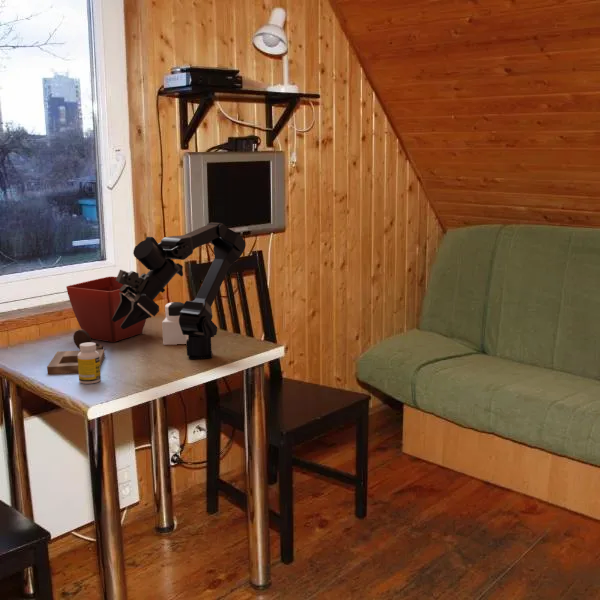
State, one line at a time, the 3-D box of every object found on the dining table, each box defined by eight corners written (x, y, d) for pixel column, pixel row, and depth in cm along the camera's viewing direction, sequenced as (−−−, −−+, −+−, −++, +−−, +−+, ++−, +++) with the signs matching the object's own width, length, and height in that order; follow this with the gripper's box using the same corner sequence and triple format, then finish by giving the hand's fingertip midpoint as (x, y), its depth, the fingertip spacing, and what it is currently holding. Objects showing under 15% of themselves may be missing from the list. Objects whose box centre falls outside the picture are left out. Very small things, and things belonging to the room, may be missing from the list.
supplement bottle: (100, 383, 195) (97, 346, 193) (78, 385, 194) (75, 347, 192) (102, 377, 200) (99, 340, 198) (80, 378, 200) (77, 342, 198)
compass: (108, 348, 228) (106, 324, 226) (89, 355, 221) (87, 330, 219) (87, 345, 231) (85, 322, 230) (68, 352, 224) (66, 328, 223)
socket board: (104, 356, 220) (104, 349, 219) (98, 371, 205) (97, 364, 205) (57, 358, 218) (57, 351, 218) (47, 374, 204) (47, 366, 203)
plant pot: (68, 339, 239) (64, 285, 236) (113, 326, 255) (110, 275, 252) (113, 347, 229) (109, 291, 226) (157, 332, 245) (154, 280, 242)
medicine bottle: (190, 338, 237) (189, 300, 235) (186, 344, 230) (184, 305, 228) (167, 338, 238) (165, 300, 235) (162, 345, 231) (160, 305, 228)
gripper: (125, 254, 206) (85, 298, 203) (144, 263, 189) (101, 311, 187) (155, 280, 211) (117, 324, 208) (176, 291, 194) (135, 339, 192)
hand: (117, 324), depth 198 cm, fingers open, 9 cm apart
